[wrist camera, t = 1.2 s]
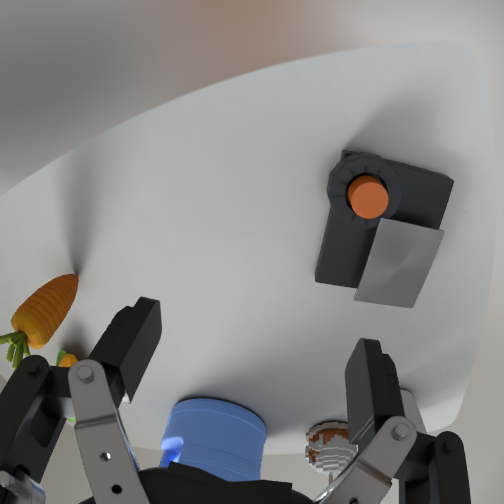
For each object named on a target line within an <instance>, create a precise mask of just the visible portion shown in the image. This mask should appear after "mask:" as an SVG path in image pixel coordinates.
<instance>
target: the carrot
mask: <svg viewBox="0 0 504 504" xmlns="http://www.w3.org/2000/svg"><path fill="white" fill-rule="evenodd" d="M78 281H79V280H78V276H77V275H75V274H68V275H63V276H60V277H57V278H55V279H53V280H51V281H50V282H48V283H46V284H45V285H43V286H42V287H40V288H39V289H38V290H37V291H36V292H34V293H33V294H32V295H31V296H30V297H29V298H28V299H27V300H26V301H25V302H24V303H23V304H22V305H21V306H20V307H19V308H18V309H17V311H16V312H15V314H14V315H13V317H12V319H11V323H12V326H13V328H14V330H15V332H14V333H10V334H6V335H3V336H0V344H4V343H6V342H8V343H9V344H11V345H10V346H9V350H8V353H7V360H8V361H9V362H12V359H13V354H14V350H15V348H16V351H15V355H14V360H13V367H12V368H13V369H14V370H15V369H16V368H17V366H18V365H19V363H20V362H21V361H22V360H23V352H24V354H25V355H26V356H30V352H29V347H28V346H30V347H32V348H35V349H40V348H42V347H43V346H44V345H45V344H46V343H47V342H48V341H49V340H50V338H51V337H52V336H53V334H54V333H55V331H56V330H57V329H58V327H59V326H60V324H61V323H62V321H63V320H64V318H65V317H66V315H67V313H68V311H69V309H70V308H71V305H72V303H73V301H74V299H75V296H76V293H77V288H78Z"/></svg>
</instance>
